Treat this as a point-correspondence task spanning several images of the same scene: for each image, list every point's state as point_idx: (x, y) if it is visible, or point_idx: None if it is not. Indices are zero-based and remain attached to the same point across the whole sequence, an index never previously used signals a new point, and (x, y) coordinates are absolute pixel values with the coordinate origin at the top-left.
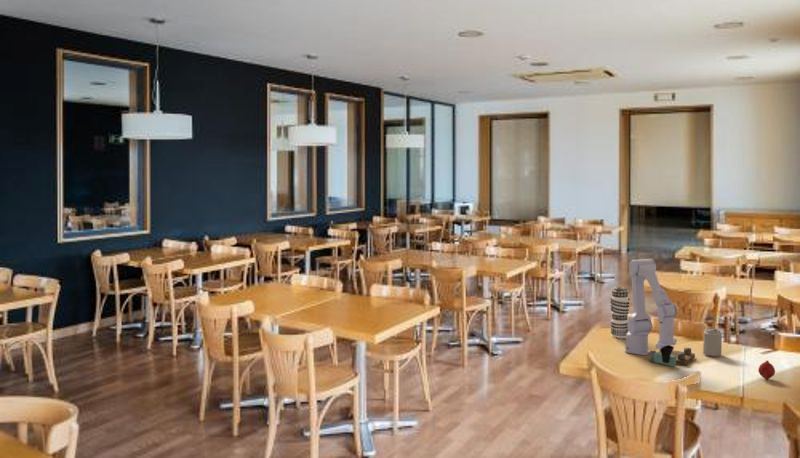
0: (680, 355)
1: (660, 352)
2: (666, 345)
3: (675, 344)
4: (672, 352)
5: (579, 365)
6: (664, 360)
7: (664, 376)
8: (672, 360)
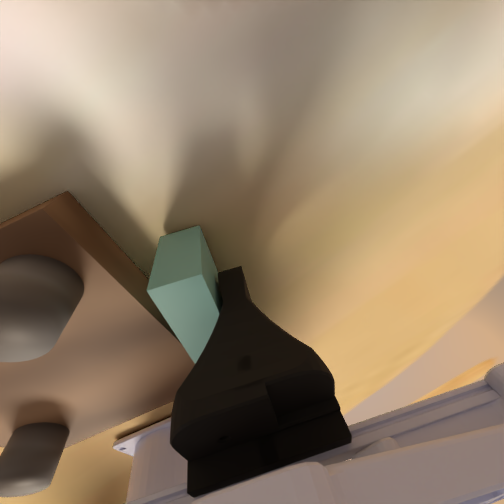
0: (48, 305)
1: (113, 418)
2: (452, 446)
3: (229, 495)
4: (15, 412)
5: (469, 370)
6: (249, 295)
7: (470, 81)
8: (204, 262)
